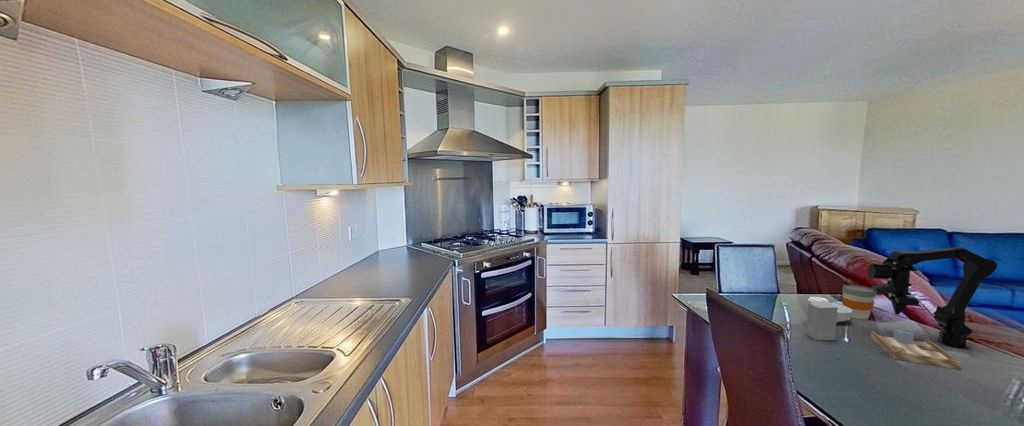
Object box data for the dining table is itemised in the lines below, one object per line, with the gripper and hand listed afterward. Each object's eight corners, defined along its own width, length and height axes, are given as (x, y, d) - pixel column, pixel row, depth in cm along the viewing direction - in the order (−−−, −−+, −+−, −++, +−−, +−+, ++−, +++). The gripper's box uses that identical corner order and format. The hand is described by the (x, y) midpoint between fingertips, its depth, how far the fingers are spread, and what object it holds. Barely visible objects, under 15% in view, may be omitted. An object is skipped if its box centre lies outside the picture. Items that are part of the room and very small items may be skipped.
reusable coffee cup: (869, 314, 187) (871, 286, 185) (877, 322, 176) (879, 293, 175) (837, 310, 193) (839, 283, 192) (843, 317, 183) (845, 289, 181)
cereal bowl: (860, 327, 171) (861, 313, 170) (820, 325, 174) (821, 311, 174) (836, 314, 187) (837, 301, 187) (800, 312, 191) (801, 299, 190)
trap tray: (927, 345, 151) (928, 339, 151) (959, 369, 133) (960, 361, 132) (870, 337, 160) (871, 331, 160) (893, 358, 141) (893, 351, 141)
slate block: (907, 340, 153) (908, 330, 153) (912, 344, 149) (913, 334, 149) (892, 338, 155) (893, 328, 155) (897, 342, 152) (898, 332, 151)
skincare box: (824, 334, 163) (826, 301, 162) (836, 341, 156) (839, 307, 155) (804, 334, 164) (806, 301, 163) (816, 341, 157) (818, 306, 156)
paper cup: (831, 330, 168) (833, 301, 167) (815, 330, 168) (817, 301, 167) (817, 323, 176) (819, 296, 175) (802, 323, 176) (803, 296, 175)
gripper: (866, 272, 168) (864, 304, 170) (884, 283, 152) (881, 318, 153) (899, 275, 163) (896, 308, 164) (921, 286, 147) (918, 322, 148)
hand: (896, 314), depth 158 cm, fingers closed
